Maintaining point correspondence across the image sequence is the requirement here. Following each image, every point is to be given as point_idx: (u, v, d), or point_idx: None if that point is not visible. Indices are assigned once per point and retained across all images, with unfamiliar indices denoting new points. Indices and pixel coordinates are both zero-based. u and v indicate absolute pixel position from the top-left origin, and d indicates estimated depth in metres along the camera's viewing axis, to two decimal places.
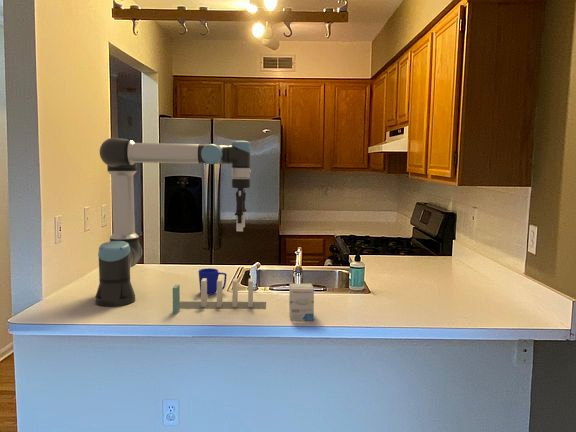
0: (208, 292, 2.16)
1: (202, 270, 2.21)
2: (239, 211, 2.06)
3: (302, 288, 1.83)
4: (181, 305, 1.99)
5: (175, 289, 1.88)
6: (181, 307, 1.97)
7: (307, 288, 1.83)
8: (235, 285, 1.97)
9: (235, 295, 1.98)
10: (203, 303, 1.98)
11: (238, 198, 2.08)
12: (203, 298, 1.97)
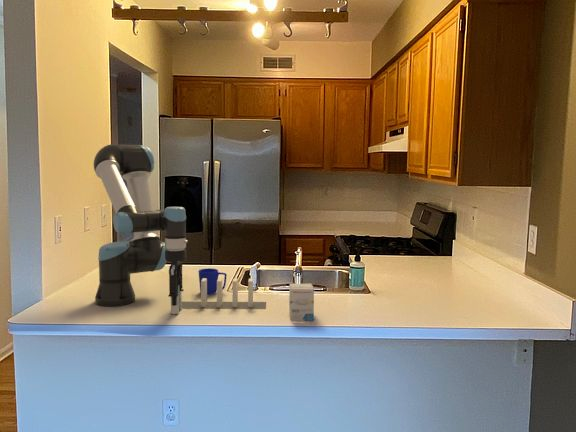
0: (208, 292, 2.16)
1: (202, 270, 2.21)
2: (173, 293, 1.84)
3: (302, 288, 1.83)
4: None
5: None
6: None
7: (307, 288, 1.83)
8: (235, 285, 1.97)
9: (235, 295, 1.98)
10: (203, 303, 1.98)
11: (171, 278, 1.84)
12: (203, 298, 1.97)
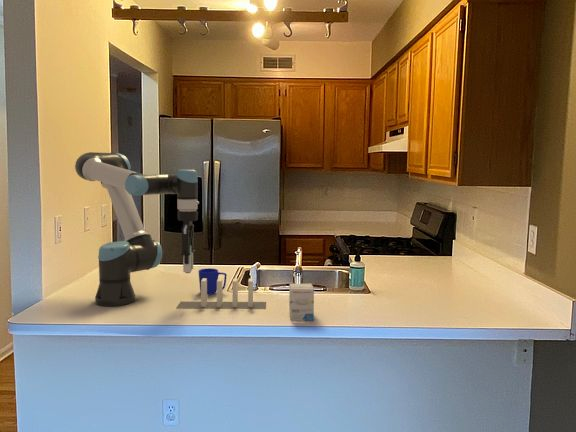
0: (208, 292, 2.16)
1: (202, 270, 2.21)
2: (185, 251, 1.92)
3: (302, 288, 1.83)
4: (181, 305, 1.99)
5: None
6: (181, 307, 1.97)
7: (307, 288, 1.83)
8: (235, 285, 1.97)
9: (235, 295, 1.98)
10: (203, 303, 1.98)
11: (183, 237, 1.91)
12: (203, 298, 1.97)
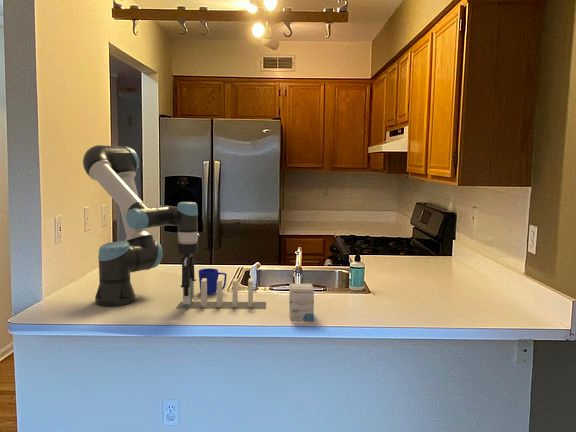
0: (208, 292, 2.16)
1: (202, 270, 2.21)
2: (185, 284, 1.92)
3: (302, 288, 1.83)
4: (181, 305, 1.99)
5: None
6: (181, 307, 1.97)
7: (307, 288, 1.83)
8: (235, 285, 1.97)
9: (235, 295, 1.98)
10: (203, 303, 1.98)
11: (183, 269, 1.92)
12: (203, 298, 1.97)
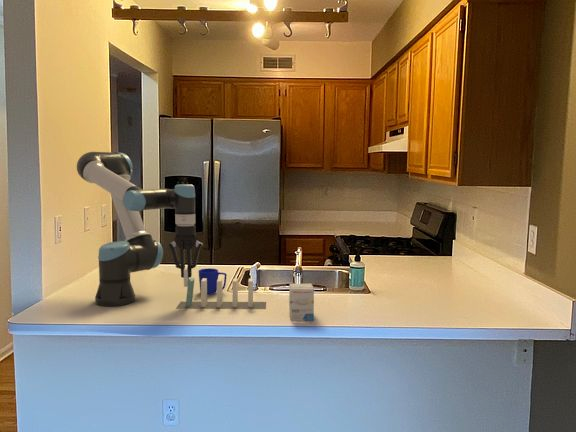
0: (208, 292, 2.16)
1: (202, 270, 2.21)
2: None
3: (302, 288, 1.83)
4: (181, 305, 1.99)
5: (190, 282, 1.97)
6: (181, 307, 1.97)
7: (307, 288, 1.83)
8: (235, 285, 1.97)
9: (235, 295, 1.98)
10: (203, 303, 1.98)
11: None
12: (203, 298, 1.97)
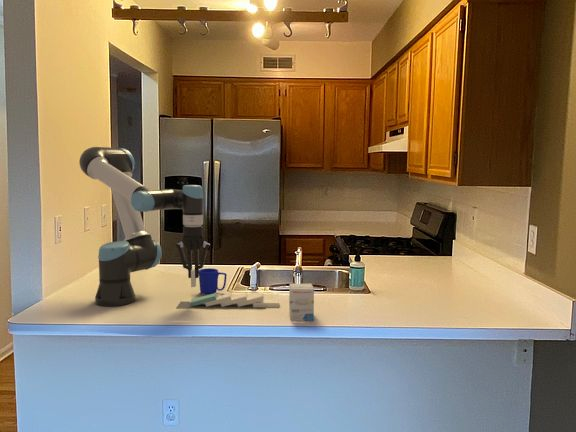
0: (208, 292, 2.16)
1: (202, 270, 2.21)
2: None
3: (302, 288, 1.83)
4: (181, 305, 1.99)
5: (214, 298, 1.98)
6: (181, 307, 1.97)
7: (307, 288, 1.83)
8: (259, 300, 1.98)
9: (249, 302, 1.98)
10: (209, 304, 1.98)
11: None
12: (213, 303, 1.98)
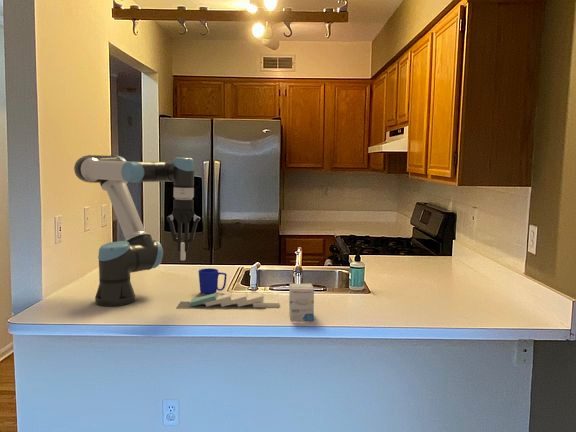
0: (208, 292, 2.16)
1: (202, 270, 2.21)
2: None
3: (302, 288, 1.83)
4: (181, 305, 1.99)
5: (214, 298, 1.98)
6: (181, 307, 1.97)
7: (307, 288, 1.83)
8: (259, 300, 1.98)
9: (249, 302, 1.98)
10: (209, 304, 1.98)
11: None
12: (213, 303, 1.98)
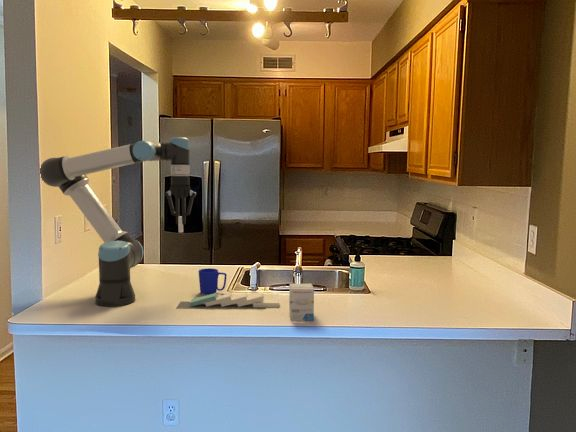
0: (208, 292, 2.16)
1: (202, 270, 2.21)
2: None
3: (302, 288, 1.83)
4: (181, 305, 1.99)
5: (214, 298, 1.98)
6: (181, 307, 1.97)
7: (307, 288, 1.83)
8: (259, 300, 1.98)
9: (249, 302, 1.98)
10: (209, 304, 1.98)
11: None
12: (213, 303, 1.98)
